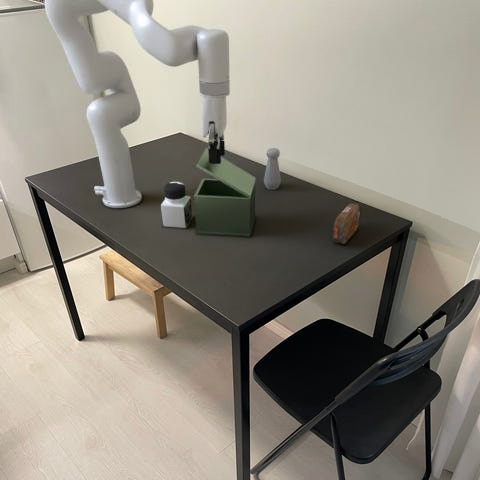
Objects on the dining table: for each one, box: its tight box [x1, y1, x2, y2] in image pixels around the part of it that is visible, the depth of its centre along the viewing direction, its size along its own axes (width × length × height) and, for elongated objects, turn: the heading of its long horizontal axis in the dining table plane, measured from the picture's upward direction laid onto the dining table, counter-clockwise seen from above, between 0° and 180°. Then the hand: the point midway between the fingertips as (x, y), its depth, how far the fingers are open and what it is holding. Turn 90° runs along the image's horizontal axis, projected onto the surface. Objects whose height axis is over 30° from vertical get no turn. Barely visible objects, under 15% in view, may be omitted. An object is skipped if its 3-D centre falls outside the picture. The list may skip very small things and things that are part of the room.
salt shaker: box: [263, 147, 282, 191], centre depth 161 cm, size 6×6×13 cm
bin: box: [193, 177, 256, 238], centre depth 141 cm, size 16×12×12 cm
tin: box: [332, 202, 362, 245], centre depth 136 cm, size 15×3×8 cm, turn 148°
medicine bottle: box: [160, 181, 193, 229], centre depth 143 cm, size 7×7×12 cm
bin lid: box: [195, 145, 256, 198], centre depth 133 cm, size 16×12×5 cm
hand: (217, 158), depth 132 cm, fingers closed on bin lid, 5 cm apart
